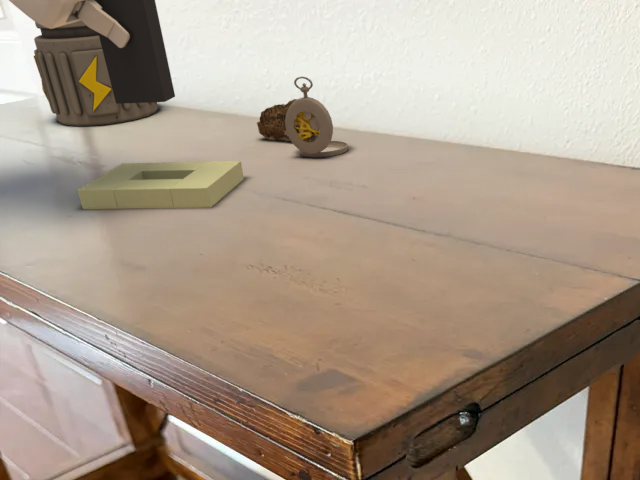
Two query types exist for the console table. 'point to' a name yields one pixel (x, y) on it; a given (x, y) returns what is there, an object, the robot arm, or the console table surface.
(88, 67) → the grey power cell canister
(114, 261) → the console table surface
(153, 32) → the back pad
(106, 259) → the console table surface
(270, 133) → the rock sample
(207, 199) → the seat pad
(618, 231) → the console table surface
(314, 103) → the pocket watch
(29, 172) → the console table surface
